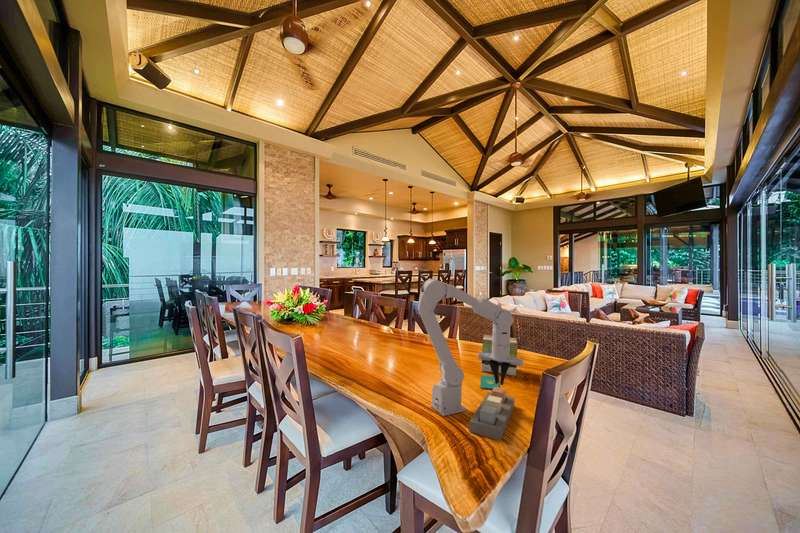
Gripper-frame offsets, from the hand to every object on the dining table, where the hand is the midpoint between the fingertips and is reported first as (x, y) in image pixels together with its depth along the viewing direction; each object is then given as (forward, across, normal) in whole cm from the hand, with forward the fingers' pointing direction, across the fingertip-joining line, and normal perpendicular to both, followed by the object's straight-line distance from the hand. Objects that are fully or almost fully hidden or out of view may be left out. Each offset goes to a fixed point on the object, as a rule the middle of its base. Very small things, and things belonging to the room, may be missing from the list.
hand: (499, 383), depth 109 cm
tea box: (+9, +7, -38) cm, 40 cm away
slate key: (+7, 0, +16) cm, 17 cm away
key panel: (+8, 0, +8) cm, 12 cm away
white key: (+7, 0, +8) cm, 10 cm away
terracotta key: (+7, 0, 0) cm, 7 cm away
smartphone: (+9, +8, -21) cm, 24 cm away
